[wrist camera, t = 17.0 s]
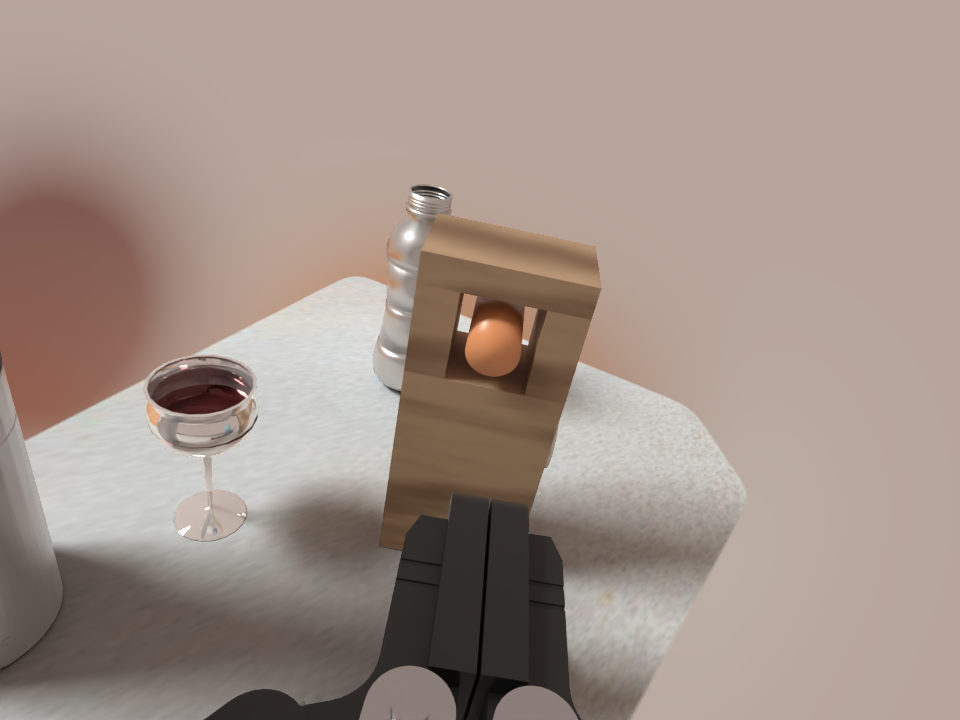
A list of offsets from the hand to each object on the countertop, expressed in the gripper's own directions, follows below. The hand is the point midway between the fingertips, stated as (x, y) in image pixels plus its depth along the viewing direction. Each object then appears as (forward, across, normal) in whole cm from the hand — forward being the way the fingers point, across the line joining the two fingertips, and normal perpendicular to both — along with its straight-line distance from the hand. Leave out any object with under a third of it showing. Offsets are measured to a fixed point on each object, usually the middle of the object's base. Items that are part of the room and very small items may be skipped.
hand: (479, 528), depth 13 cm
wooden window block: (+26, -1, +29) cm, 39 cm away
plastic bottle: (+45, +6, +29) cm, 54 cm away
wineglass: (+24, +17, +29) cm, 41 cm away
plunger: (+26, -1, +11) cm, 28 cm away
